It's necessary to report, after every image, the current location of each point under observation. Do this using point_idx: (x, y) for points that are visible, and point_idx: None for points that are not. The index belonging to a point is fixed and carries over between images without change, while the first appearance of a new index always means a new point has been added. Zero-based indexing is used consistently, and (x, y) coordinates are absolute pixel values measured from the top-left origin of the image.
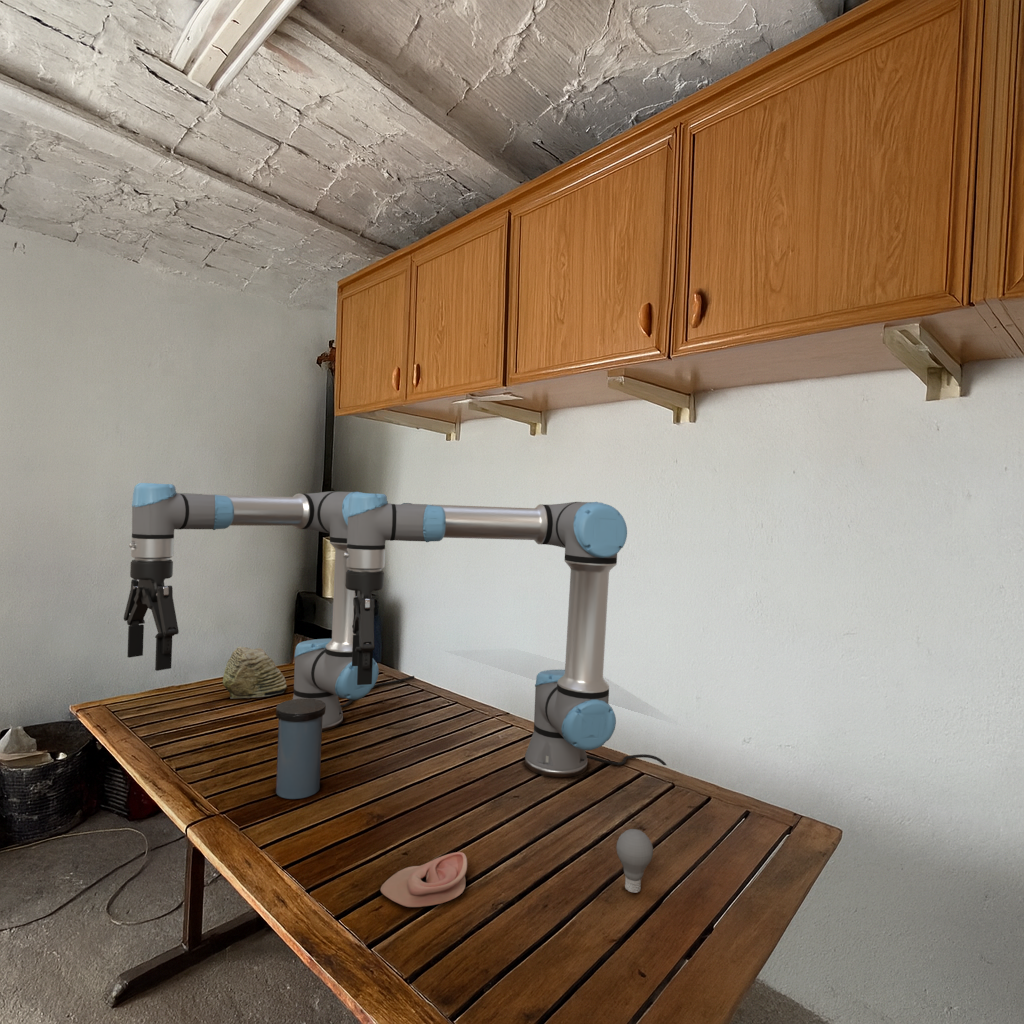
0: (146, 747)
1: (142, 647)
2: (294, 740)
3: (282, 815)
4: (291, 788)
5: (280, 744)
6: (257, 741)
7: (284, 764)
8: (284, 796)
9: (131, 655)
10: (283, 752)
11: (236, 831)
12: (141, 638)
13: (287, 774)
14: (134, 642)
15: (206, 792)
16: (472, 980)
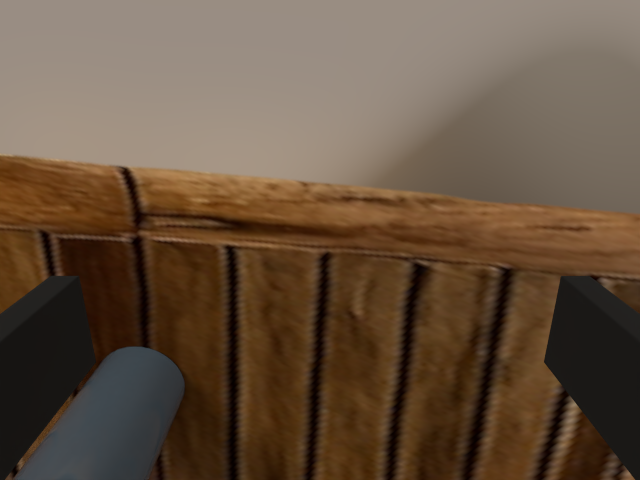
0: (606, 270)
1: (577, 399)
2: (34, 451)
3: None
4: (98, 368)
5: (84, 425)
6: (428, 442)
7: (88, 394)
8: (118, 350)
9: (565, 299)
10: (79, 414)
11: (40, 223)
12: (630, 452)
13: (91, 382)
14: (623, 378)
15: (253, 259)
16: None
